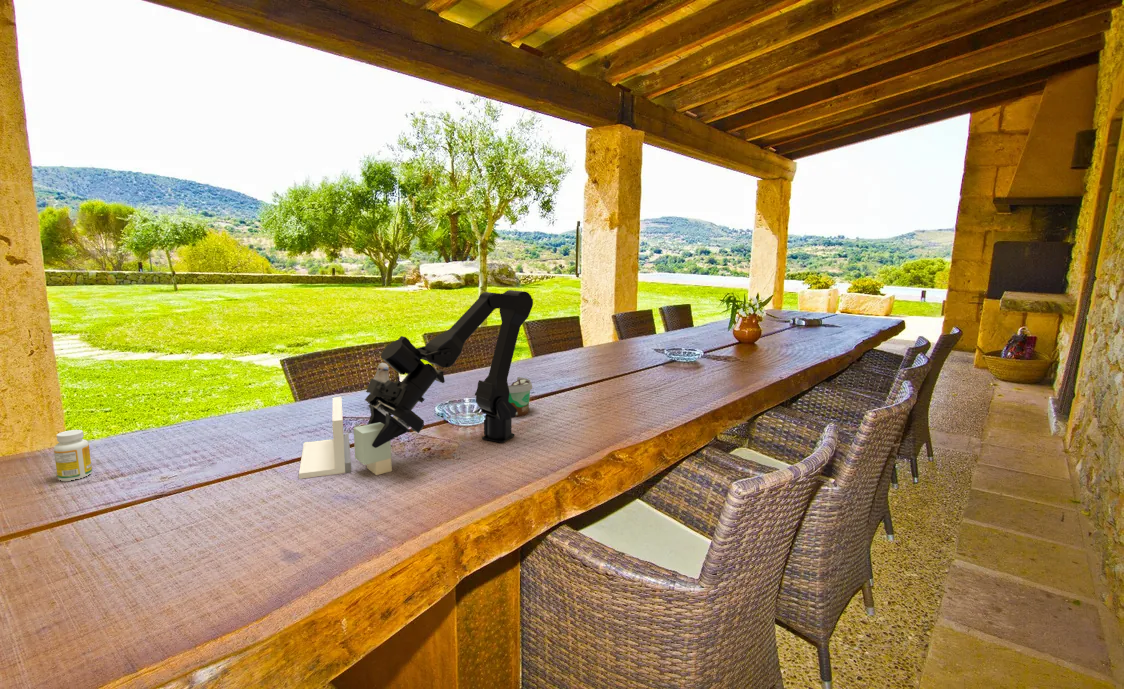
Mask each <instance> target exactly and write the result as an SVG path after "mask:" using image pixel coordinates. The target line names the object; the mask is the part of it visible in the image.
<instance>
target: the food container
mask: <svg viewBox="0 0 1124 689" xmlns="http://www.w3.org/2000/svg"><path fill="white" fill-rule="evenodd" d="M516 378H517V380H516V381H514V382H512V383H511V384H510V385H508V387H509V402H510V403H511V404H512V405H513V406H514V407H515V408H516V409H517V412H516V415H515V417H514V418H521V417H525V416H527V415H528V414H529V408H530V397H531V395H530V394H531V390H533V384H532V381H531V379H529V378H527V377H520V376H517V377H516Z"/></svg>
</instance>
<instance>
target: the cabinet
mask: <svg viewBox="0 0 1124 689" xmlns="http://www.w3.org/2000/svg"><path fill="white" fill-rule="evenodd" d="M383 426H384V424H383V423H381V422H378V423H374V424H369V425H368V424H364V425H359V426H355V427H353V440H354V443H353V444H354V458H355V460H357V461H358V462H359V463H361V464H363V465H364V466H366V469H367V470H369V471H370V472H371V473H373V474H374V475H375V476H378V475H379V476H380V475H381V474H386V473H390V472H393V471H392V470H393V468H392V466H393V465H392V445H391V441H392V440H390V441H388V442H386V443H384V444H383V445H381V446H379V447H377V448H375V447H373V446H372V444H373V442H374V440H375V439H376V437H377V436H378V434H379V433H380V431H381V430H382V428H383Z"/></svg>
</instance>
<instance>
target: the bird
mask: <svg viewBox="0 0 1124 689" xmlns="http://www.w3.org/2000/svg"><path fill="white" fill-rule="evenodd" d="M389 372H390V366H389V364H388V363H386V362H381V363H379V364H378V365H377V369H376V372H375V375H374V376H373V379H375V380H379V381H382V382H386V381H388V380H389V381H390V378H389Z"/></svg>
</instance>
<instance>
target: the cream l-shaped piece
mask: <svg viewBox="0 0 1124 689" xmlns="http://www.w3.org/2000/svg"><path fill="white" fill-rule="evenodd" d="M342 405H343V400H342V396H335V397H332V414H331V415H332V417H331V419H332V421H331V423H332V436H333V438H332V439H323V440H322V439H321V440H316V441H305V442H303V446H302V451H301V452H302V453H301V460H300V464H299V471H298V479H299V480H302V479H309V478H316V477H324V476H325V477H326V476H332V475H340V474H347V473H352V462H351V448H350V435H349V433H345V434H344V420H343V406H342Z"/></svg>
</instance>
